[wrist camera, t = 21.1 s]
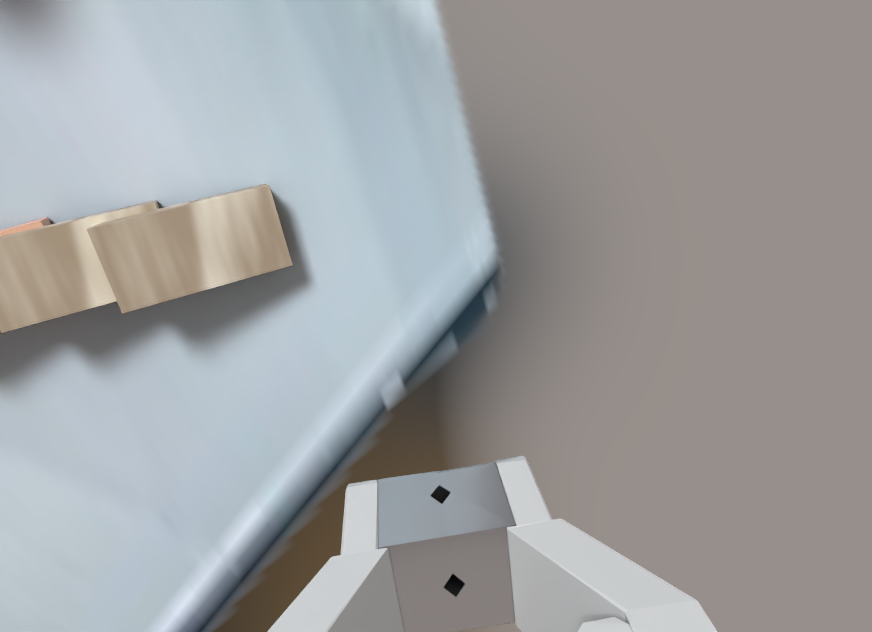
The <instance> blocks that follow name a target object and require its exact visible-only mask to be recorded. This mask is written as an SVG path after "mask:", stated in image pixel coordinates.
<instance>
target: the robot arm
mask: <svg viewBox="0 0 872 632" xmlns="http://www.w3.org/2000/svg"><path fill="white" fill-rule="evenodd" d="M509 623H516V626H517V627H518V628H519V629H520V630H521V631H522V632H717V631H716V629H715V627H714V626H713V624H712V623H711V621H710V620H709V618H708V616H707V615H706V613H705V612H704V610H703V609H702V607H701V606H700V604H699V603H698V601H697V600H696V599H694V598H692V597H691V596H689V595H687V594H686V593H684V592H682V591H680V590H679V589H677V588H675V587H674V586H672V585H670V584H669V583H667V582H666V581H664V580H662V579H661V578H659V577H658V576H656V575H654V574H652V573H651V572H649V571H647V570H646V569H644V568H642V567H641V566H639V565H638V564H636V563H634V562H632V561H631V560H629V559H628V558H626V557H624V556H623V555H621V554H619V553H618V552H616V551H614V550H613V549H611V548H609V547H608V546H606V545H605V544H603V543H601V542H599V541H598V540H596V539H595V538H593V537H591V536H589V535H588V534H586V533H585V532H583V531H581V530H580V529H578V528H576V527H575V526H573V525H571V524H569V523H568V522H566V521H565V520H563V519H556V520H552V518H551V515H550V513H549V510H548V508H547V506H546V503H545V501H544V499H543V496H542V494H541V492H540V489H539V487H538V485H537V482H536V480H535V478H534V475H533V473H532V471H531V468H530V466H529V464H528V461H527V459H526V458H525V457H523V456H519V457H514V458H509V459H503V460H499V461H495V462H493V463H487V464H481V465H475V466H469V467H463V468H457V469H451V470H445V471H439V472H437V471H435V472H428V473H421V474H414V475H407V476H400V477H392V478H386V479H379V481H377V480H372V481H366V482H359V483H353V484H349V485H348V487H347V489H346V497H345V508H344V520H343V533H342V546H341V555H340V556H334V557H331V558H330V560H328V562H327V563H326V564H325V565H324V566H323V568H322V569H321V570H320V571H319V572H318V573H317V575H316V576H315V577H314V578H313V579H312V580H311V581H310V583H309V584H308V585H307V586H306V587H305V588H304V590H303V591H302V592H301V593H300V594H299V596H298V597H297V598H296V599H295V600H294V601H293V602H292V604H291V605H290V606H289V607H288V608H287V609H286V611H285V612H284V613H283V614H282V615H281V616H280V618H279V619H278V620H277V621H276V622H275V623H274V625H273V626H272V627H271V628H270V629H269V630H268V632H455V631H460V630H467V629H475V628H481V627H488V626H495V625H502V624H509ZM460 628H461V629H460Z"/></svg>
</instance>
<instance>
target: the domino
mask: <svg viewBox="0 0 872 632" xmlns="http://www.w3.org/2000/svg"><path fill="white" fill-rule="evenodd" d="M156 209H160V208H159V205H158V202H157V200H156V201H152V202H147V203H143V204H139V205H134V206H130V207H126V208H121V209H117V210H113V211H108V212H104V213H99V214H95V215H91V216H86V217H82V218H78V219H73V220H69V221H65V222H60V223H56V224H52V225H47V226H43V227H39V228H34V229H30V230H25V231H21V232H17V233H12V234H8V235H4V236H0V331H1V333H4V332H7V331H11V330H15V329H18V328H22V327H25V326H29V325H33V324H36V323H40V322H43V321H47V320H51V319H54V318H58V317H61V316H65V315H69V314H72V313H76V312H79V311H83V310H87V309H90V308H94V307H98V306H101V305H105V304H108V303H112V302H116V301H117V300H116V298H115V295H114V293H113V291H112V288H111V286H110V284H109V281H108V279H107V277H106V274H105V272H104V269H103V267H102V265H101V262H100V260H99V258H98V255H97V253H96V250H95V248H94V246H93V243H92V241H91V239H90V236H89V234H88V232H87V228H88V227H90V226H91V225H92V224H96V223H101V222H105V221H109V220H113V219H118V218H122V217H126V216H131V215H135V214H139V213H143V212H148V211H152V210H156Z"/></svg>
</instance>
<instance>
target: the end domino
mask: <svg viewBox="0 0 872 632" xmlns="http://www.w3.org/2000/svg"><path fill="white" fill-rule="evenodd" d="M87 232H88V234H89V236H90V239H91V241H92V243H93V246H94V248H95V250H96V253H97V255H98V258H99V260H100V262H101V265H102V267H103V269H104V272H105V274H106V277H107V279H108V281H109V284H110V286H111V288H112V291H113V293H114V295H115V298H116V300H117V303H118V305H119V307H120V310H121V312H122V314H123V313H126V312H130V311H133V310H137V309H140V308H144V307H147V306H151V305H154V304H158V303H161V302H165V301H168V300H172V299H176V298H179V297H183V296H186V295H190V294H193V293H197V292H200V291H204V290H207V289H211V288H214V287H218V286H221V285H225V284H229V283H232V282H236V281H239V280H243V279H246V278H250V277H253V276H257V275H260V274H264V273H267V272H271V271H275V270H278V269H282V268H285V267H289V266H292V261H291V258H290V254H289V251H288V247H287V244H286V241H285V237H284V234H283V230H282V227H281V224H280V220H279V217H278V213H277V210H276V207H275V203H274V200H273V196H272V193H271V189H270V186H268V185H266V184H263V185H259V186H255V187H250V188H246V189H242V190H238V191H233V192H229V193H225V194H220V195H216V196H212V197H208V198H203V199H199V200H195V201H191V202H186V203H182V204H178V205H173V206H169V207H165V208H161V209H156V210H152V211H148V212H143V213H139V214H135V215H131V216H126V217H122V218H118V219H113V220H109V221H105V222H101V223H96V224H92V225H91V226H90V227H88V228H87Z"/></svg>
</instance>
